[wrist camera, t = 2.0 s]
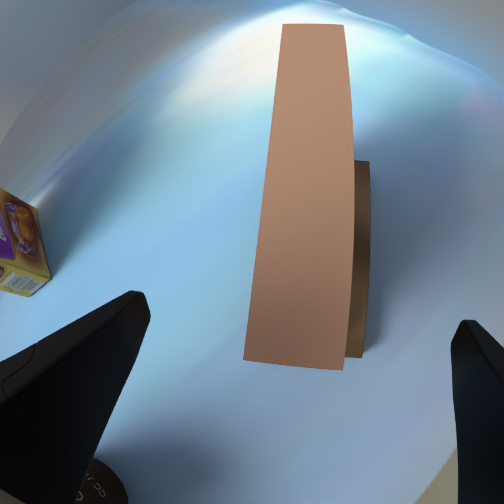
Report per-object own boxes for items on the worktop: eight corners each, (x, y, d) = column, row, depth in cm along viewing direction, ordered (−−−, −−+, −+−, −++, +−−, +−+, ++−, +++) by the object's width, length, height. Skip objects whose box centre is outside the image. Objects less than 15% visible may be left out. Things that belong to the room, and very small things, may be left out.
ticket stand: (358, 356, 19) (382, 368, 12) (252, 346, 20) (219, 352, 13) (366, 171, 22) (382, 107, 15) (273, 166, 23) (254, 102, 16)
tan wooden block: (330, 354, 12) (342, 370, 7) (272, 348, 13) (243, 359, 7) (340, 107, 15) (343, 24, 10) (295, 105, 15) (282, 23, 10)
